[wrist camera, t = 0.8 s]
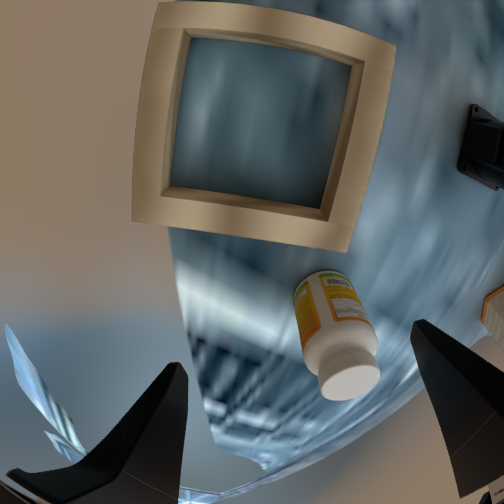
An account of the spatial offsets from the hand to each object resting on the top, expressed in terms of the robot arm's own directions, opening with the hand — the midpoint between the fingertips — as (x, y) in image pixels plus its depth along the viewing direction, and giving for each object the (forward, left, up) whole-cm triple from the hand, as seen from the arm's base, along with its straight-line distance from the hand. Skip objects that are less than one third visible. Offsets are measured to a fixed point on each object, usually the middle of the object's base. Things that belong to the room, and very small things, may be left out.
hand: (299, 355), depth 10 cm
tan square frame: (+2, -7, -13) cm, 15 cm away
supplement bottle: (-6, +6, -13) cm, 15 cm away
